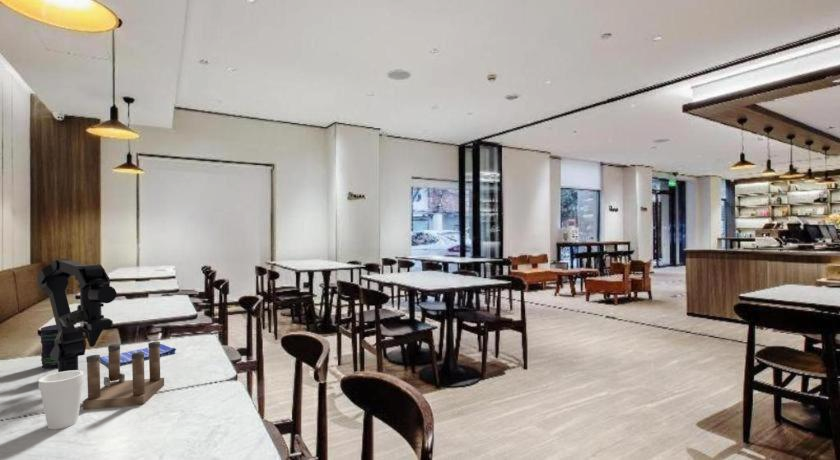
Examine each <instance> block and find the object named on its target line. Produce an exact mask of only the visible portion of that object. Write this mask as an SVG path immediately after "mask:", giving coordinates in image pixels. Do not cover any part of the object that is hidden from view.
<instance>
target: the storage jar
mask: <svg viewBox="0 0 840 460" xmlns="http://www.w3.org/2000/svg"><path fill="white" fill-rule="evenodd" d="M57 335H58V330H57V326H56V324H52V325H46V326H43V327H40V344H41V354H40V357H41V359H40V361H41V369H42V368H44V369H43V370H56V369H58V361H54V360H51V357H50V353H51V351H52V350H53V348H54V346H55V343H54V341H55V339H56V337H57ZM55 368H56V369H55Z"/></svg>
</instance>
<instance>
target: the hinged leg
mask: <svg viewBox="0 0 840 460" xmlns="http://www.w3.org/2000/svg"><path fill="white" fill-rule="evenodd" d="M107 351H108V356H109V366H108V378H110V382H113V381H119V379H120V373H121V366H120V353H121V344H117V343H115V344H109V345H108V347H107Z"/></svg>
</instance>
